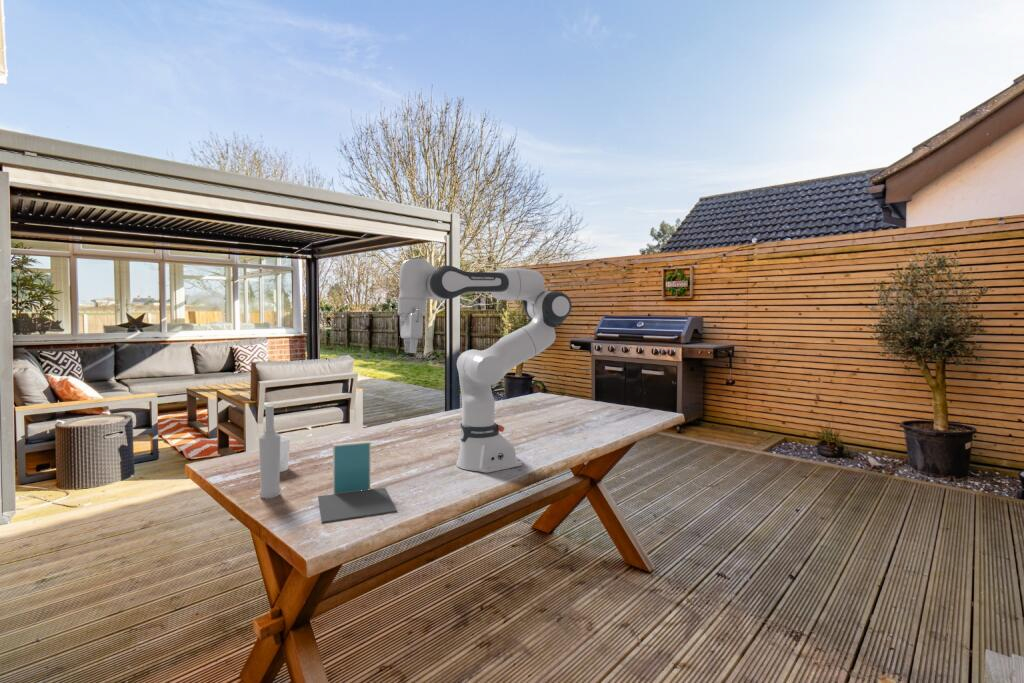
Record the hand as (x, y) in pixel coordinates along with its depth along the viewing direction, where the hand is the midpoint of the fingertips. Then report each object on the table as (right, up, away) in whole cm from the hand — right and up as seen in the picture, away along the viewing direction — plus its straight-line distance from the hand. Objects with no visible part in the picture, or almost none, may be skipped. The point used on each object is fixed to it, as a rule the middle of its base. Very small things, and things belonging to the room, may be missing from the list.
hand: (410, 352), depth 151 cm
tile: (-14, -39, -14) cm, 44 cm away
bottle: (-35, -39, -18) cm, 56 cm away
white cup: (-44, -38, +3) cm, 58 cm away
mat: (-9, -40, -23) cm, 47 cm away
